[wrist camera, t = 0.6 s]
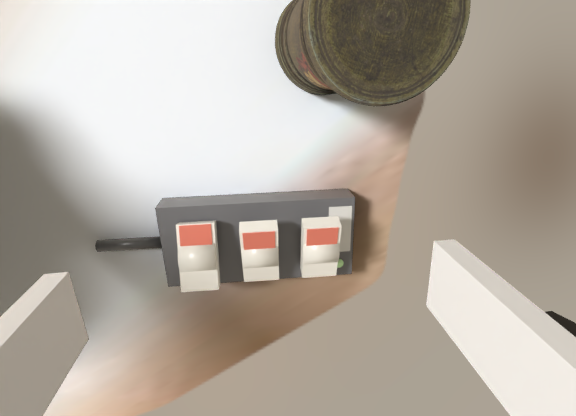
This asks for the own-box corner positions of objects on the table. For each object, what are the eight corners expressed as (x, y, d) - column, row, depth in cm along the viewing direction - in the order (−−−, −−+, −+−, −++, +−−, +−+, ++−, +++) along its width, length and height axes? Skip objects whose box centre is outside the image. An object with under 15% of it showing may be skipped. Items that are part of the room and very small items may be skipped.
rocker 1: (186, 284, 37) (179, 294, 34) (181, 221, 36) (173, 225, 33) (221, 281, 37) (217, 292, 34) (217, 219, 37) (213, 223, 33)
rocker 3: (299, 261, 39) (302, 283, 37) (300, 212, 35) (304, 233, 33) (331, 258, 39) (337, 280, 37) (336, 210, 36) (343, 231, 33)
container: (266, 1, 32) (280, -77, 16) (362, -19, 32) (480, -117, 16) (285, 102, 36) (314, 128, 19) (372, 84, 36) (479, 93, 19)
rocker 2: (244, 264, 39) (244, 287, 36) (239, 216, 35) (239, 237, 32) (277, 262, 39) (279, 284, 36) (276, 214, 35) (278, 235, 32)
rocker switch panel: (111, 276, 40) (99, 292, 37) (93, 201, 37) (80, 212, 34) (345, 260, 43) (352, 274, 40) (347, 188, 39) (355, 198, 36)
